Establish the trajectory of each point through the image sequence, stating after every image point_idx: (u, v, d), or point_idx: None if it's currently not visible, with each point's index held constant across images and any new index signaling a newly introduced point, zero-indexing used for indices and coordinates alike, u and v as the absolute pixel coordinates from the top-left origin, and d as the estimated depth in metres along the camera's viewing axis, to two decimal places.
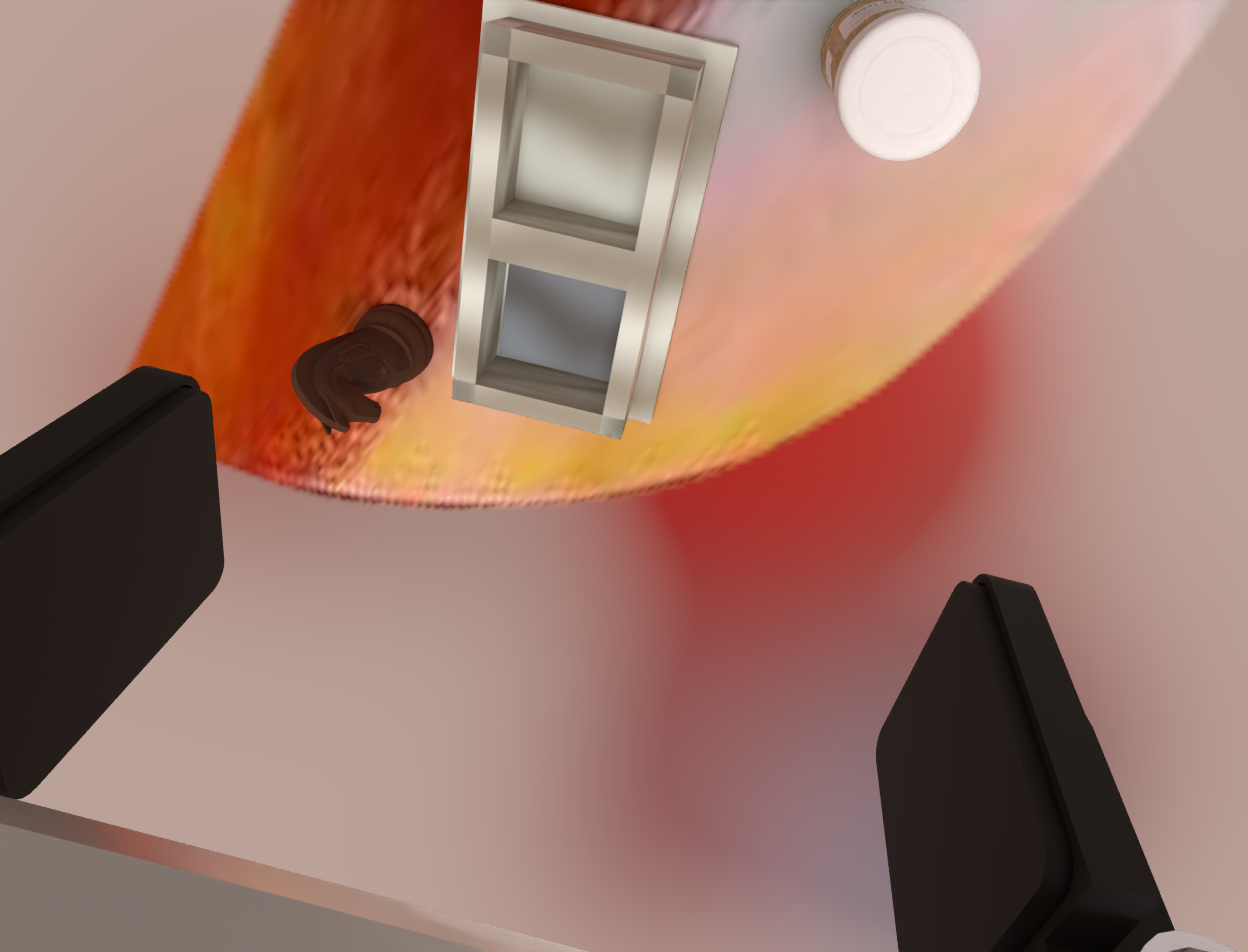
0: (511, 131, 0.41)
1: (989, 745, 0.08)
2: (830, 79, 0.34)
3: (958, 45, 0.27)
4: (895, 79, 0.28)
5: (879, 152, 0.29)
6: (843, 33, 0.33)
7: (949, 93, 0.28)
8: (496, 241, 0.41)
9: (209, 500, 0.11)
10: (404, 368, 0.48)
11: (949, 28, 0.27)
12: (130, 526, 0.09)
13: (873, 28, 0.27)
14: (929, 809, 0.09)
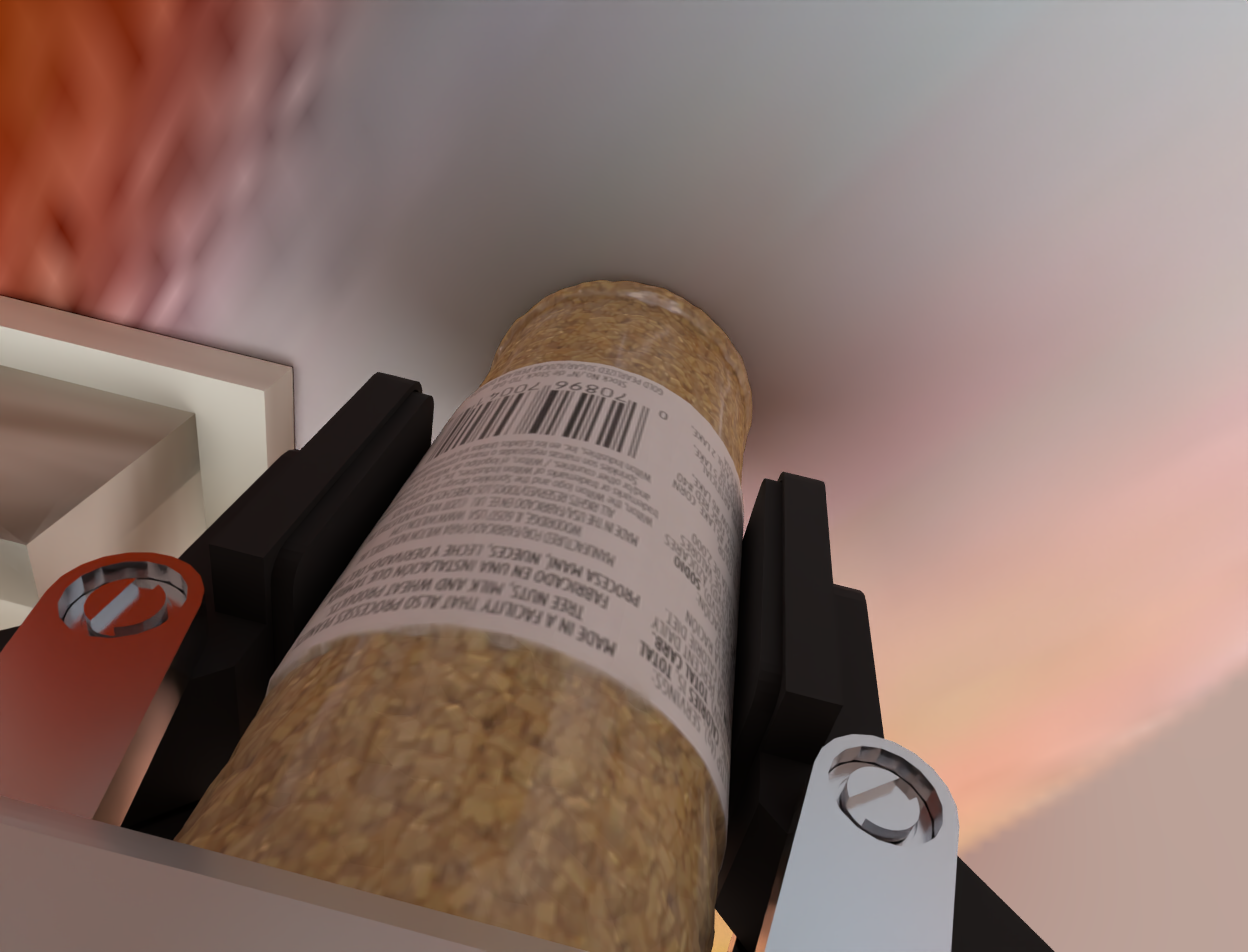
0: None
1: (752, 605, 0.09)
2: None
3: None
4: None
5: None
6: (336, 582, 0.09)
7: None
8: None
9: None
10: None
11: None
12: None
13: None
14: None
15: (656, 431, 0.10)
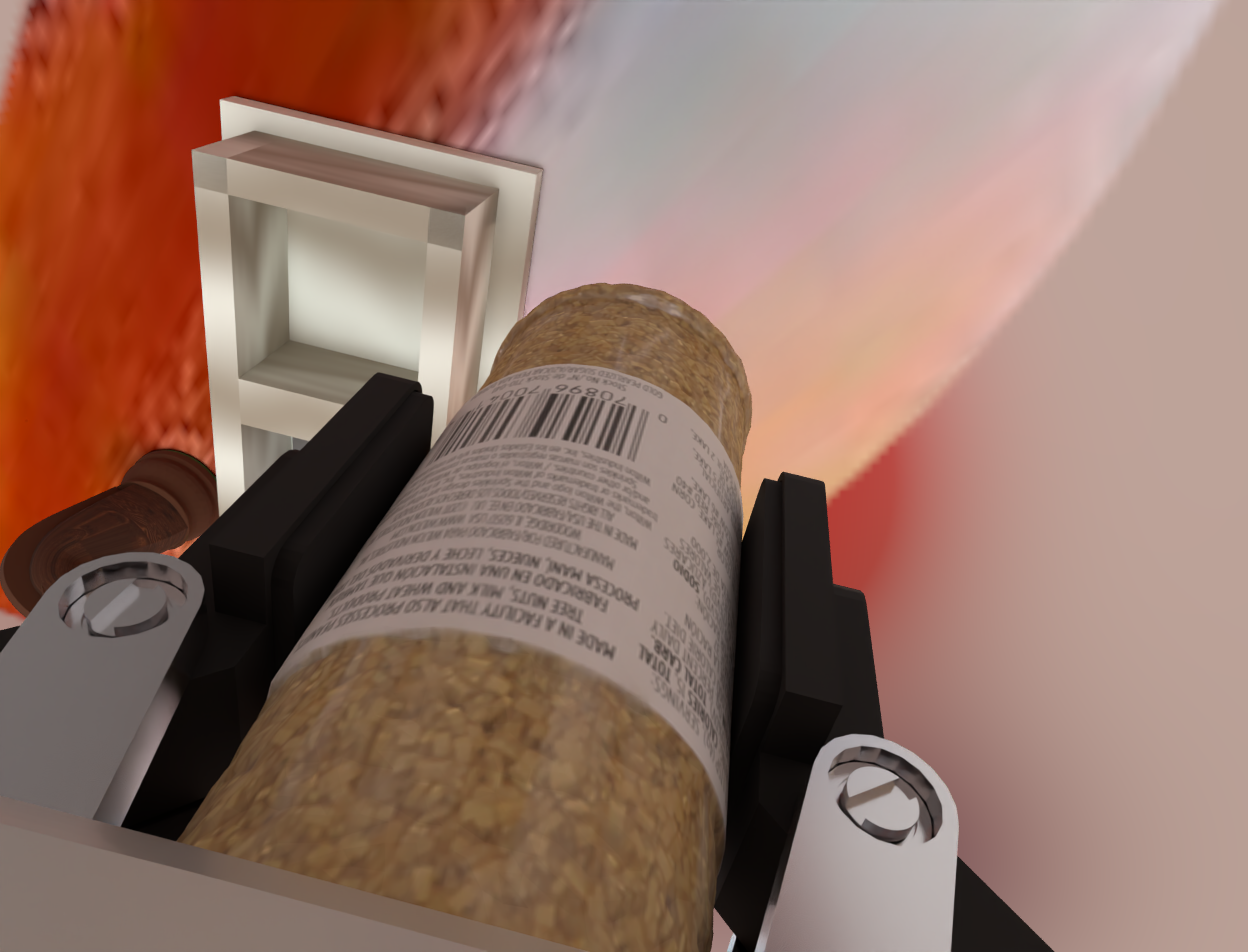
0: (260, 272, 0.32)
1: (752, 605, 0.09)
2: None
3: None
4: None
5: None
6: None
7: None
8: (247, 405, 0.33)
9: None
10: (176, 532, 0.40)
11: None
12: (382, 518, 0.10)
13: None
14: None
15: (655, 434, 0.10)
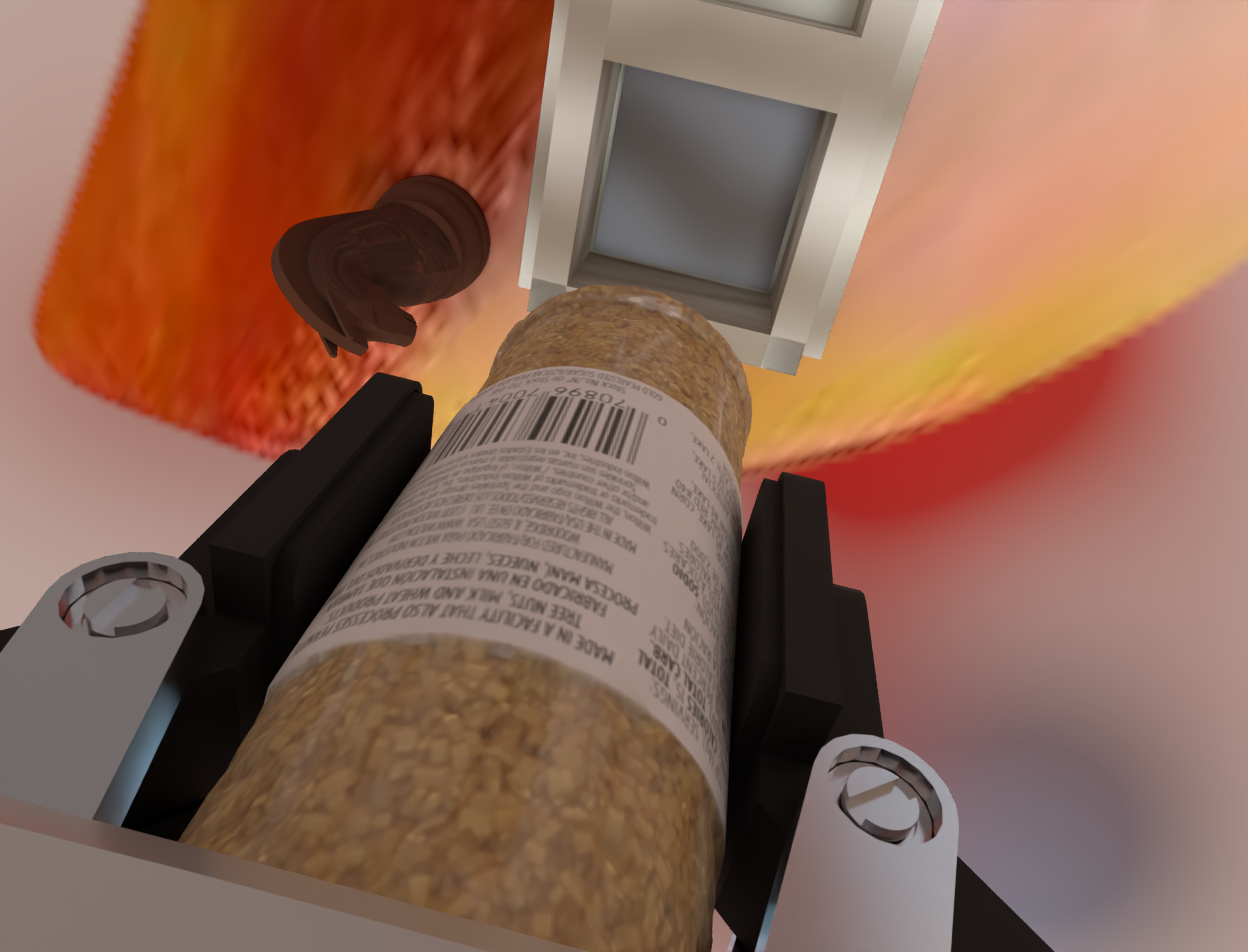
0: None
1: (753, 605, 0.09)
2: None
3: None
4: None
5: None
6: (335, 589, 0.09)
7: None
8: (619, 26, 0.24)
9: None
10: (450, 269, 0.31)
11: None
12: (381, 518, 0.10)
13: None
14: None
15: (655, 437, 0.10)
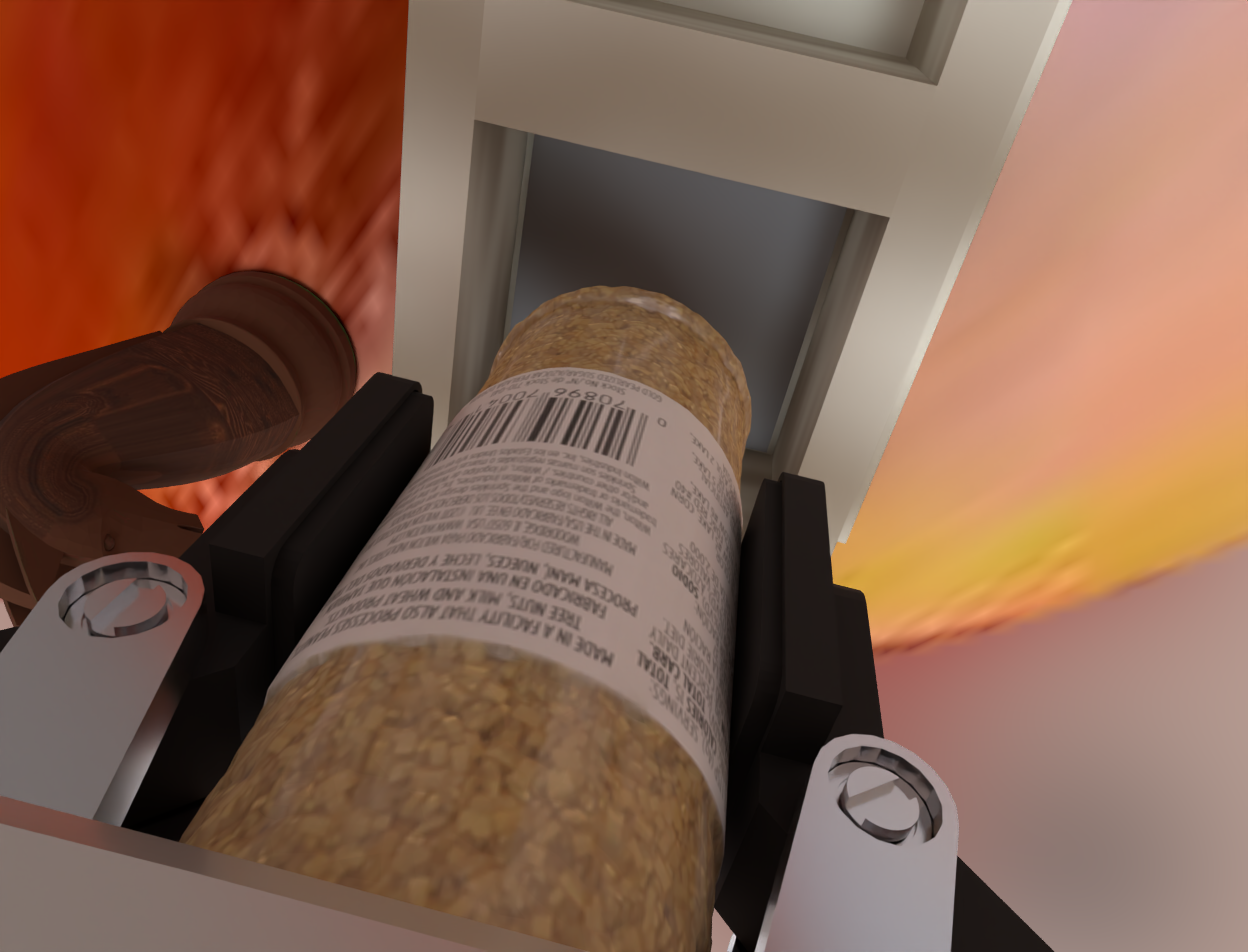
0: None
1: (753, 605, 0.09)
2: None
3: None
4: None
5: None
6: (335, 591, 0.09)
7: None
8: (499, 63, 0.14)
9: None
10: (280, 422, 0.20)
11: None
12: (381, 518, 0.10)
13: None
14: None
15: (654, 438, 0.10)
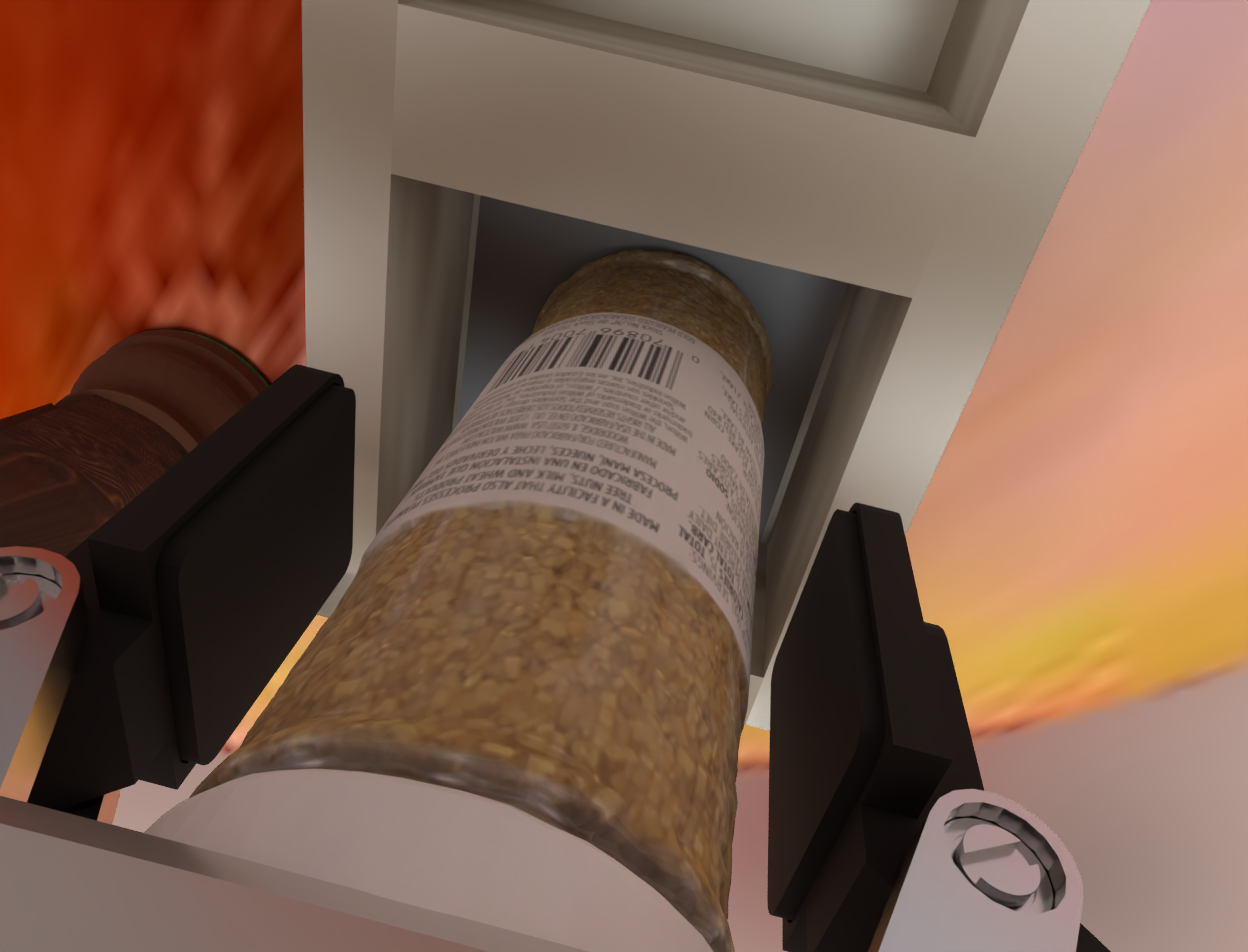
0: None
1: (838, 646, 0.09)
2: None
3: None
4: None
5: None
6: (412, 487, 0.10)
7: None
8: (418, 104, 0.11)
9: (348, 491, 0.11)
10: None
11: None
12: (295, 513, 0.10)
13: None
14: (798, 714, 0.10)
15: (689, 370, 0.11)
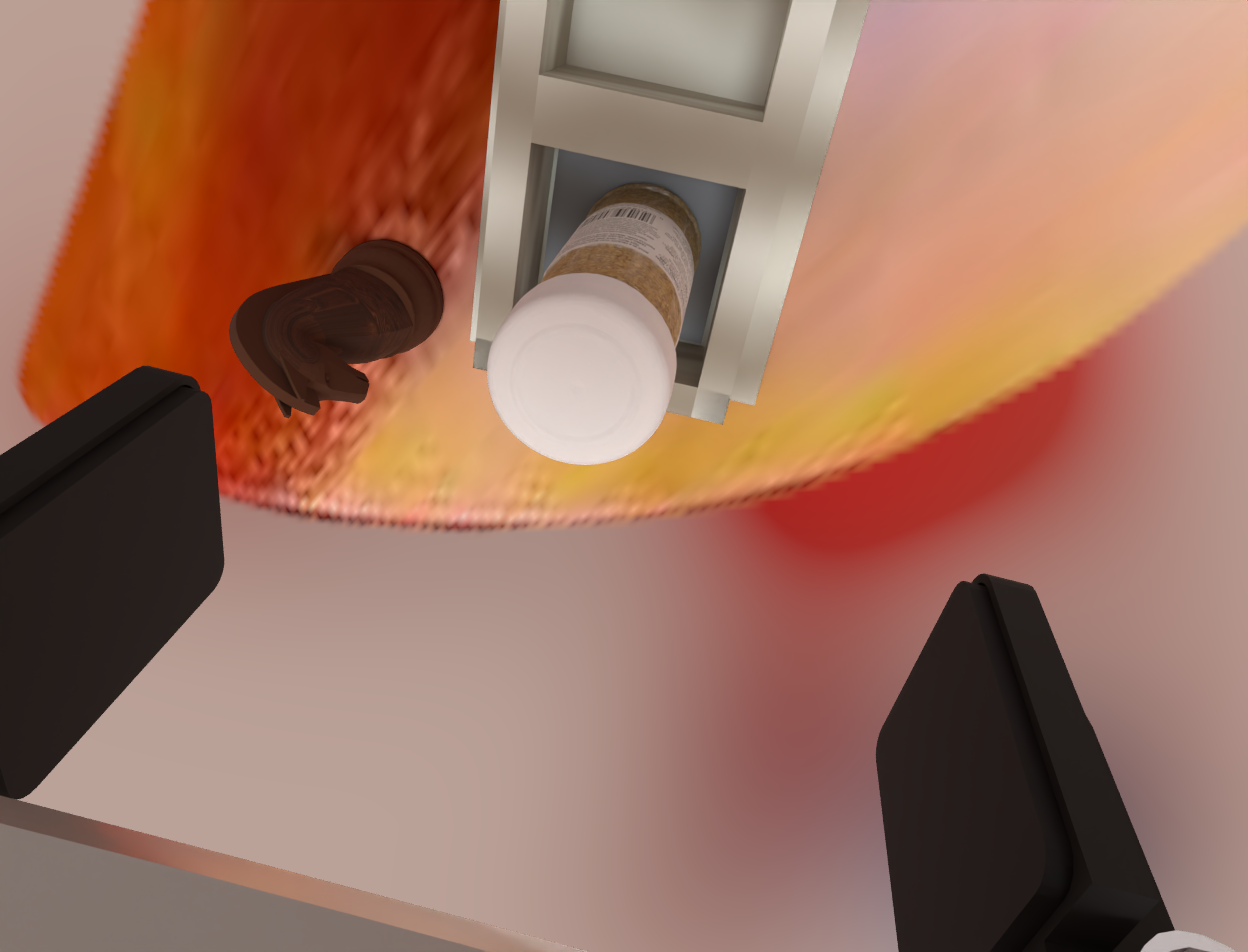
0: None
1: (989, 745, 0.08)
2: None
3: (628, 336, 0.20)
4: (555, 373, 0.20)
5: (552, 456, 0.22)
6: None
7: (627, 392, 0.20)
8: (544, 113, 0.27)
9: (209, 500, 0.11)
10: (403, 328, 0.33)
11: (613, 315, 0.20)
12: (130, 526, 0.09)
13: (517, 309, 0.20)
14: (929, 809, 0.09)
15: (658, 221, 0.27)
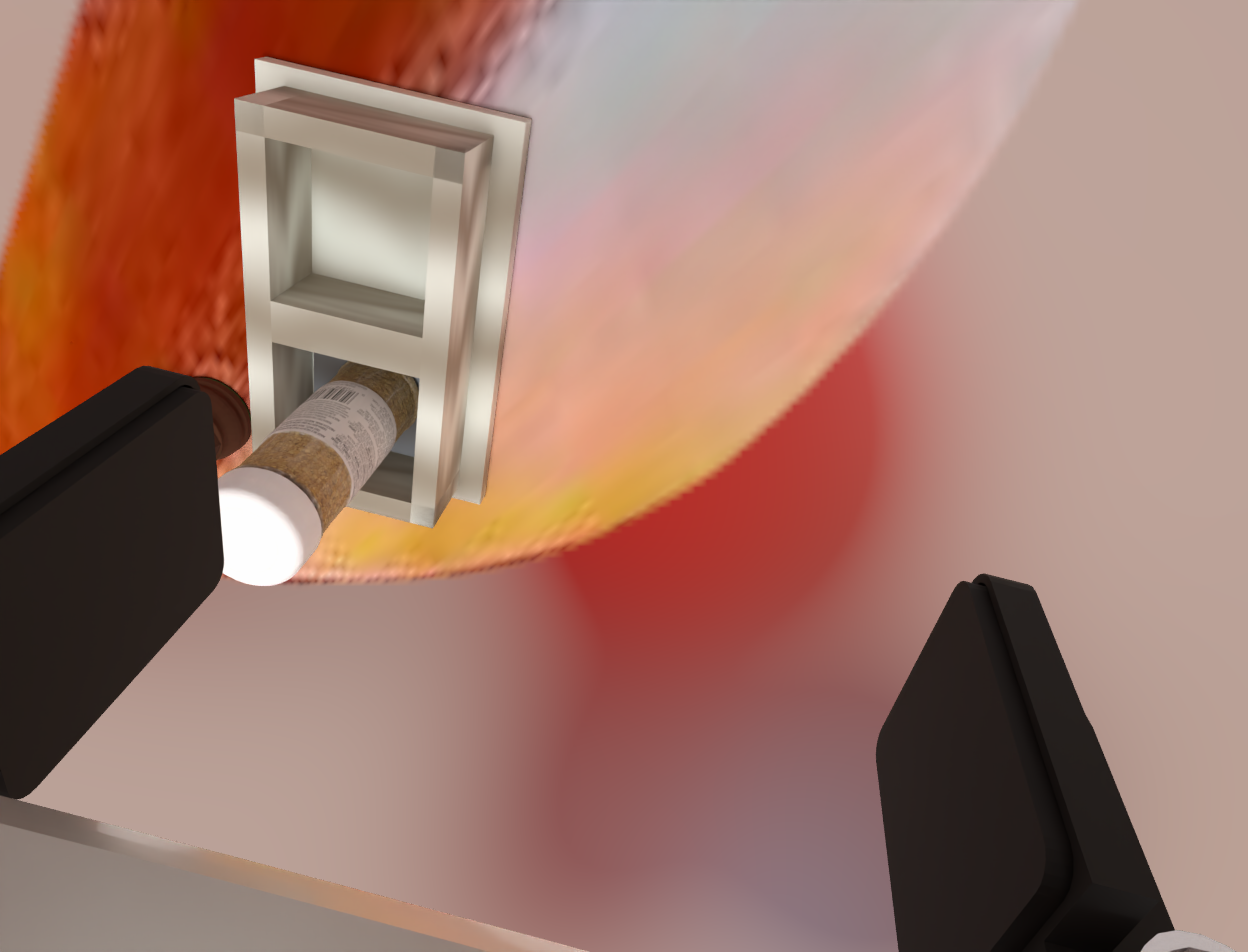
0: (289, 208, 0.38)
1: (989, 745, 0.08)
2: None
3: (267, 515, 0.32)
4: (229, 533, 0.32)
5: (239, 580, 0.34)
6: None
7: (274, 546, 0.32)
8: (278, 324, 0.39)
9: (209, 500, 0.11)
10: None
11: (256, 503, 0.31)
12: (130, 526, 0.09)
13: None
14: (929, 809, 0.09)
15: (358, 399, 0.39)
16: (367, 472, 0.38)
